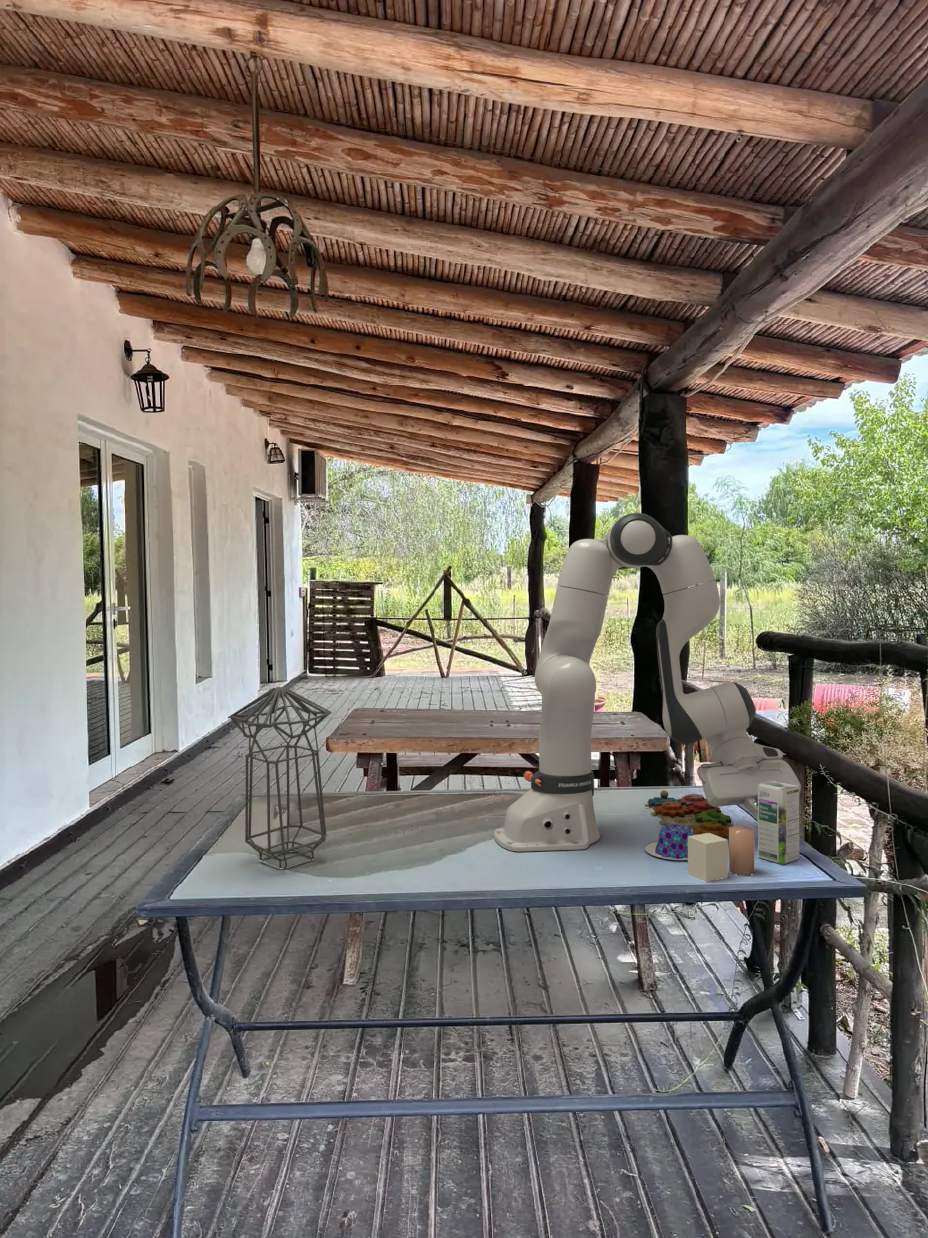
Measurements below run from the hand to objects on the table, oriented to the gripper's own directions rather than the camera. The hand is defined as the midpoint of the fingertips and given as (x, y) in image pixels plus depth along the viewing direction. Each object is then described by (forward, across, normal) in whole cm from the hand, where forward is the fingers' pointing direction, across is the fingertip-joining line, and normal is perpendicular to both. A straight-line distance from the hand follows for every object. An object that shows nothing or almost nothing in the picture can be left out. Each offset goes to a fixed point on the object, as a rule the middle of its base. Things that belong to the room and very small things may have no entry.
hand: (767, 819), depth 164 cm
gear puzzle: (-12, -2, +23) cm, 26 cm away
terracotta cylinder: (+11, -11, -2) cm, 16 cm away
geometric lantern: (-12, -93, +21) cm, 96 cm away
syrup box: (+8, 0, +2) cm, 8 cm away
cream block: (+10, -18, -2) cm, 21 cm away
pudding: (+1, -17, +9) cm, 19 cm away
